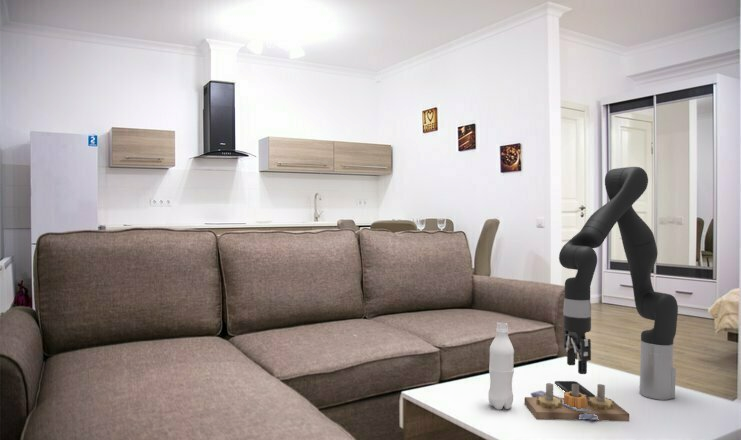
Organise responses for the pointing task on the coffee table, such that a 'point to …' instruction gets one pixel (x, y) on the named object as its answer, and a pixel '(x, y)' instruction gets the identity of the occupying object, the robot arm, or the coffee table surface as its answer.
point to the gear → (575, 400)
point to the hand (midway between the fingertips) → (576, 369)
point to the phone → (568, 387)
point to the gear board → (553, 409)
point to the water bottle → (501, 369)
